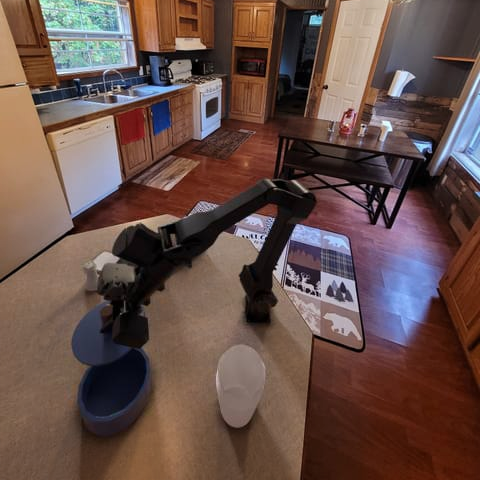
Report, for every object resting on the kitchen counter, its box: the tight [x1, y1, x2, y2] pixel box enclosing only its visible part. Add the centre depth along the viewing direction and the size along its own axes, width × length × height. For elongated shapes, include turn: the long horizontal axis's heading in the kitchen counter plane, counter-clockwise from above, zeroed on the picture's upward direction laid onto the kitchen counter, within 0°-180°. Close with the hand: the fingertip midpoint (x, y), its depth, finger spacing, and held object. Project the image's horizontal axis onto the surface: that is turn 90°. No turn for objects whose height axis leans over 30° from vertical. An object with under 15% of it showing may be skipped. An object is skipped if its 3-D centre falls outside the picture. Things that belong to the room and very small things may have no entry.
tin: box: [76, 347, 153, 437], centre depth 50 cm, size 13×13×5 cm
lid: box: [70, 300, 147, 367], centre depth 51 cm, size 14×14×6 cm
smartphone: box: [92, 251, 120, 273], centre depth 79 cm, size 7×1×15 cm
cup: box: [215, 344, 266, 429], centre depth 48 cm, size 9×9×12 cm
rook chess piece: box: [83, 260, 100, 292], centre depth 72 cm, size 4×4×8 cm
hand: (102, 325), depth 51 cm, fingers closed on lid, 3 cm apart
